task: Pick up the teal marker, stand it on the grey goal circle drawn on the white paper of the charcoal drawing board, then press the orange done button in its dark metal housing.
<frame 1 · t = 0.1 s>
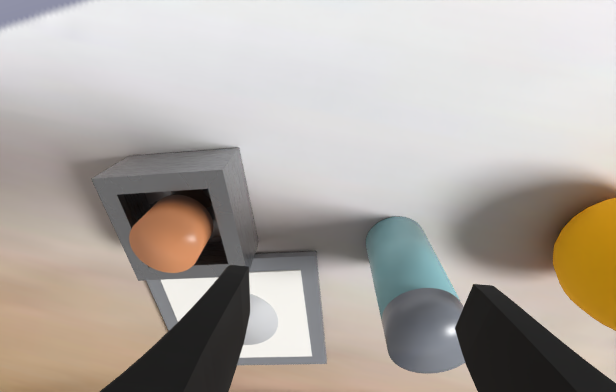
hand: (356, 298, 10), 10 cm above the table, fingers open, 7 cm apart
marker: (394, 241, 21), on the table
button housing: (197, 202, 20), on the table
done button: (174, 233, 17), point 4 cm above the table, slide at 0.0 cm
drawing board: (242, 313, 25), on the table
apple: (593, 229, 20), on the table
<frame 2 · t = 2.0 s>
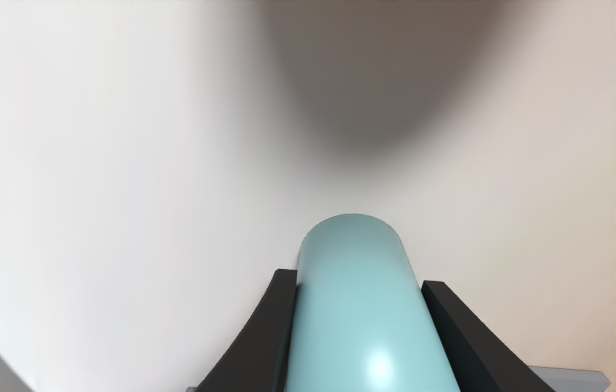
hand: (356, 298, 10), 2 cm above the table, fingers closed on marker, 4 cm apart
marker: (351, 258, 12), on the table, touching gripper
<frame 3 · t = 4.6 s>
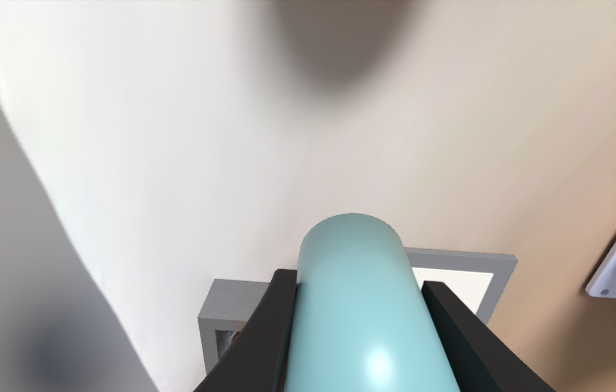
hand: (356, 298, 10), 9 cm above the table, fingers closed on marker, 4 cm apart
marker: (350, 257, 12), point 7 cm above the table, touching gripper
button housing: (263, 316, 23), on the table
done button: (254, 360, 20), point 4 cm above the table, slide at 0.0 cm
drawing board: (401, 317, 23), on the table
when the fingers open (4 cm above the table, at t = 7.3 s): marker stays where it is, resting on drawing board.
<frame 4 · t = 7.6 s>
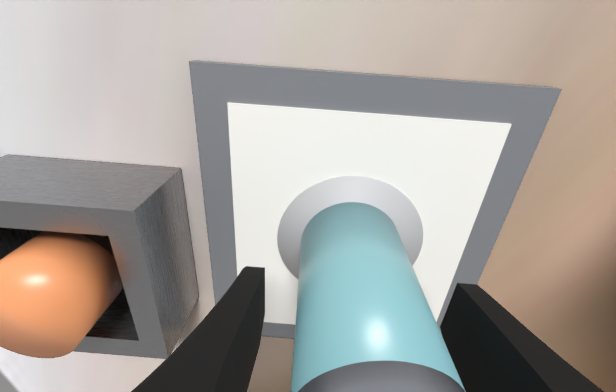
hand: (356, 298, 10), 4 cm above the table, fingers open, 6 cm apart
marker: (349, 244, 12), point 1 cm above the table, touching drawing board
button housing: (114, 233, 14), on the table
done button: (50, 292, 10), point 4 cm above the table, slide at 0.0 cm
drawing board: (347, 233, 13), on the table
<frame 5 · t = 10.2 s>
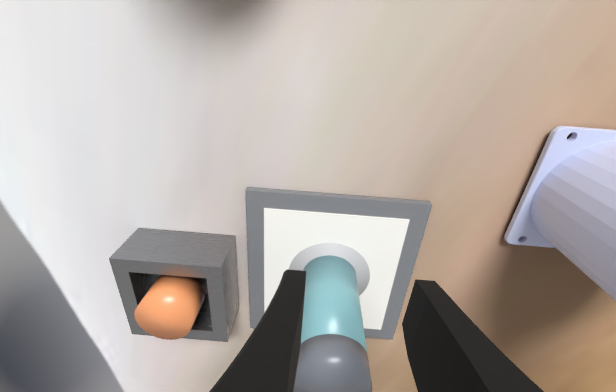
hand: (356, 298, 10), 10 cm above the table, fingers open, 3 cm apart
marker: (328, 277, 22), point 1 cm above the table, touching drawing board
button housing: (192, 269, 23), on the table
done button: (171, 305, 20), point 4 cm above the table, slide at 0.0 cm
drawing board: (328, 270, 23), on the table
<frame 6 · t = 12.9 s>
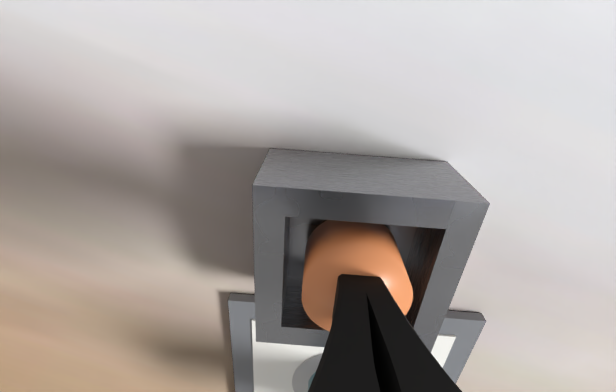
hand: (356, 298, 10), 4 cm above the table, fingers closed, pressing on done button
button housing: (347, 228, 13), on the table
done button: (353, 273, 11), point 3 cm above the table, slide at 0.7 cm, touching gripper
drawing board: (342, 373, 18), on the table
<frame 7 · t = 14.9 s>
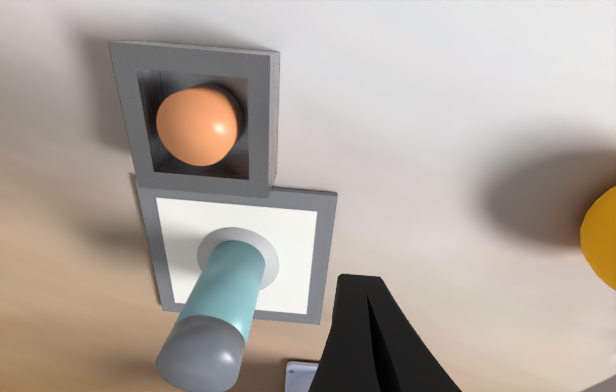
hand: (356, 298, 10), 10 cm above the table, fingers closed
marker: (237, 262, 22), point 1 cm above the table, touching drawing board
button housing: (218, 113, 18), on the table
done button: (203, 124, 15), point 3 cm above the table, slide at 1.1 cm
drawing board: (240, 256, 22), on the table
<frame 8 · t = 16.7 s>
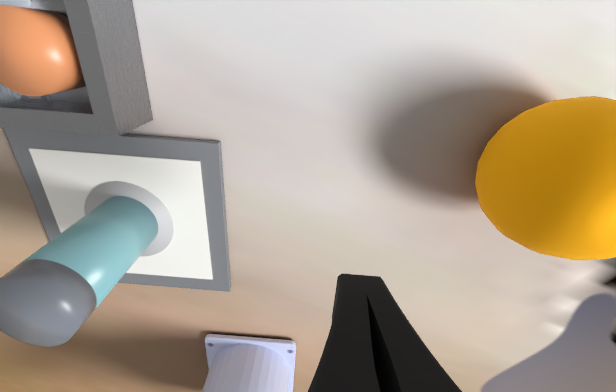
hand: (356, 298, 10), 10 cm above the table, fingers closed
marker: (128, 221, 21), point 1 cm above the table, touching drawing board
button housing: (77, 50, 16), on the table
done button: (39, 52, 14), point 3 cm above the table, slide at 1.1 cm
drawing board: (134, 216, 21), on the table
apple: (524, 154, 18), on the table
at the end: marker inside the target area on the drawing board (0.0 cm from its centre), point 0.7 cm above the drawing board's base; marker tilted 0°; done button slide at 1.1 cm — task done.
